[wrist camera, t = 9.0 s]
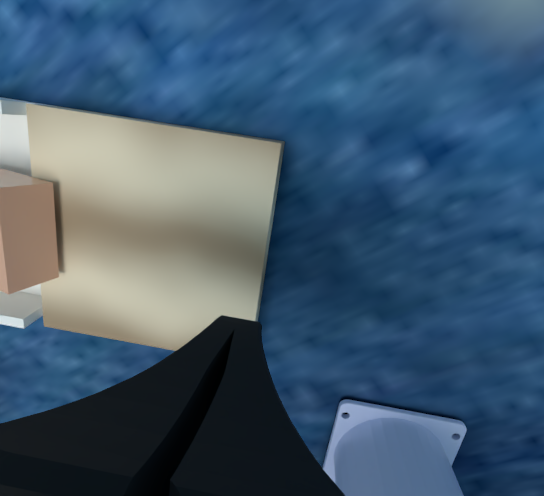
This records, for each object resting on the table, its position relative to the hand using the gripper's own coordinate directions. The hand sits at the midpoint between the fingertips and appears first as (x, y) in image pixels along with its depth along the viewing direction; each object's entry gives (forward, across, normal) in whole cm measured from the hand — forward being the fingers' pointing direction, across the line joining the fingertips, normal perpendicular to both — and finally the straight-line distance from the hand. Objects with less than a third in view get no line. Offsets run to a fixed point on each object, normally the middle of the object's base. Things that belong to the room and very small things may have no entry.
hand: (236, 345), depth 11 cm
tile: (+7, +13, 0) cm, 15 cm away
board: (+9, +6, 0) cm, 11 cm away
